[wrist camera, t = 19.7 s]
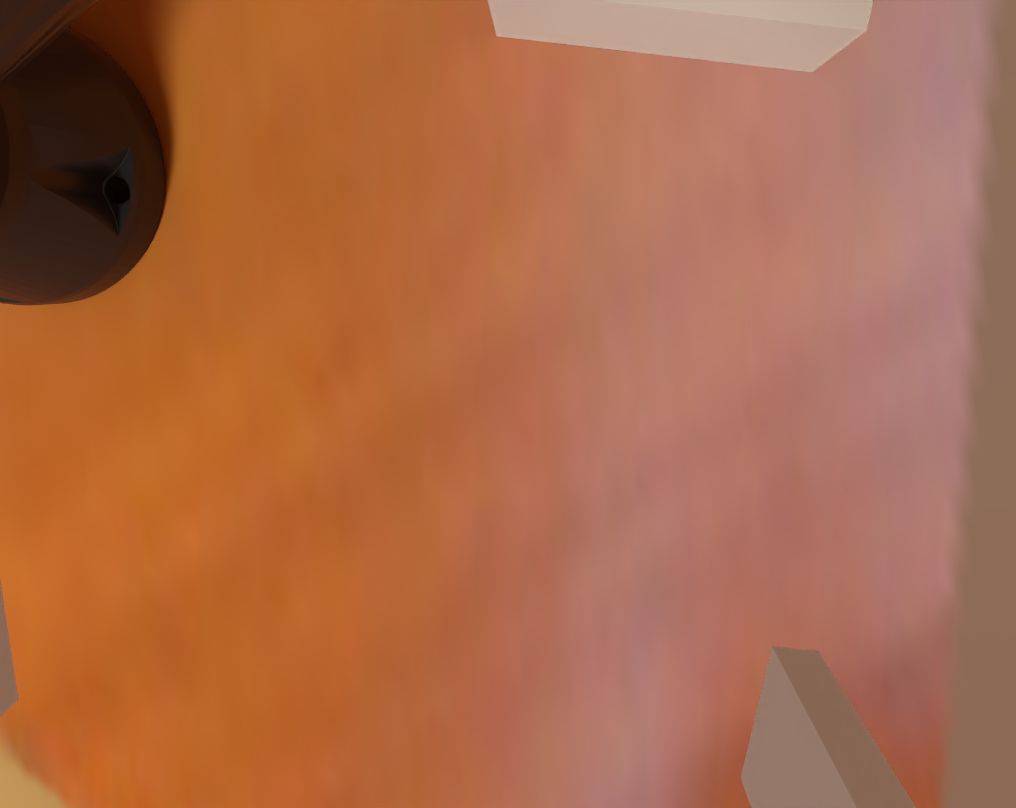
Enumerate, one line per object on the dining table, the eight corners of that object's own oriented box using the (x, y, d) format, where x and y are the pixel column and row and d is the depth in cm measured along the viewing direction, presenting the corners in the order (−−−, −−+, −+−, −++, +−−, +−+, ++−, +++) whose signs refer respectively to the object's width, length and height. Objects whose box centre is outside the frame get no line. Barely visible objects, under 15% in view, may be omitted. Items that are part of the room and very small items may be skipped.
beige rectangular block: (496, 36, 34) (484, -13, 28) (501, -7, 34) (490, -65, 28) (812, 72, 33) (866, 30, 28) (820, 29, 33) (878, -23, 27)
